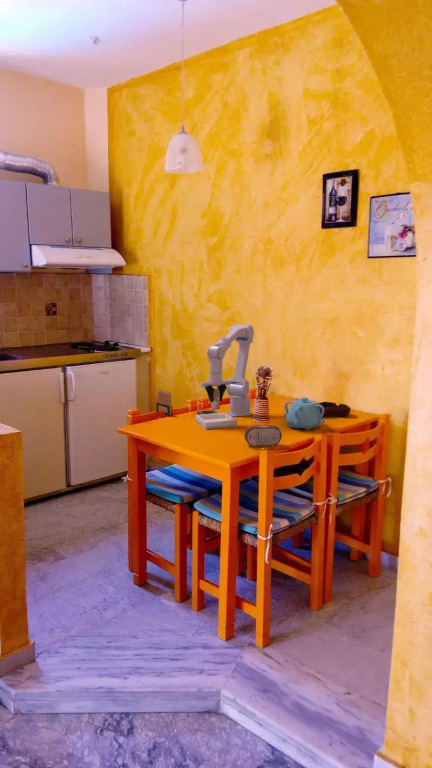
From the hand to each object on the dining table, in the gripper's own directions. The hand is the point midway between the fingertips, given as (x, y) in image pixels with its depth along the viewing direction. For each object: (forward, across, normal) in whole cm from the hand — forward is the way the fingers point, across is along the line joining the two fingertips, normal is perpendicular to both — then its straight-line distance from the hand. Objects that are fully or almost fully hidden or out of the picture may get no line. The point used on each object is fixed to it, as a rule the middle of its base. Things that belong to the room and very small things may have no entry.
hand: (215, 401), depth 268 cm
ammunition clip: (+11, +14, -28) cm, 33 cm away
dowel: (+3, 0, 0) cm, 4 cm away
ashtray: (+11, -60, +9) cm, 61 cm away
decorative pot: (+11, -33, +23) cm, 42 cm away
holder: (+10, -3, -14) cm, 18 cm away
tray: (+10, 0, +1) cm, 11 cm away
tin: (+11, 0, +39) cm, 41 cm away
